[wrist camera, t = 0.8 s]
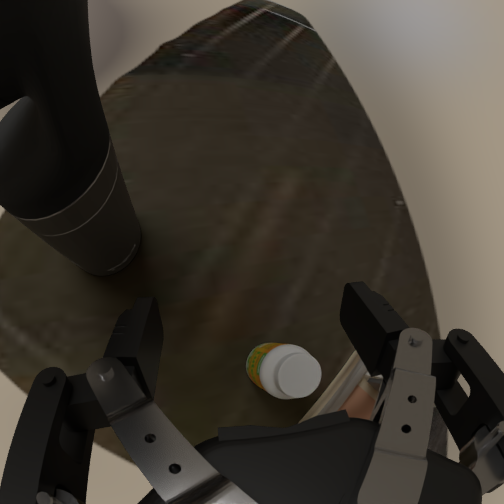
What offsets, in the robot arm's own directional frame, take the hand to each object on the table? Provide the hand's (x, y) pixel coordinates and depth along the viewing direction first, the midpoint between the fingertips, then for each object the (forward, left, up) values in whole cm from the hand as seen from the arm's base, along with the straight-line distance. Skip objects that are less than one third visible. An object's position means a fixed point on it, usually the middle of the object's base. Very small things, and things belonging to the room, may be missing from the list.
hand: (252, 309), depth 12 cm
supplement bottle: (+8, +1, -21) cm, 23 cm away
